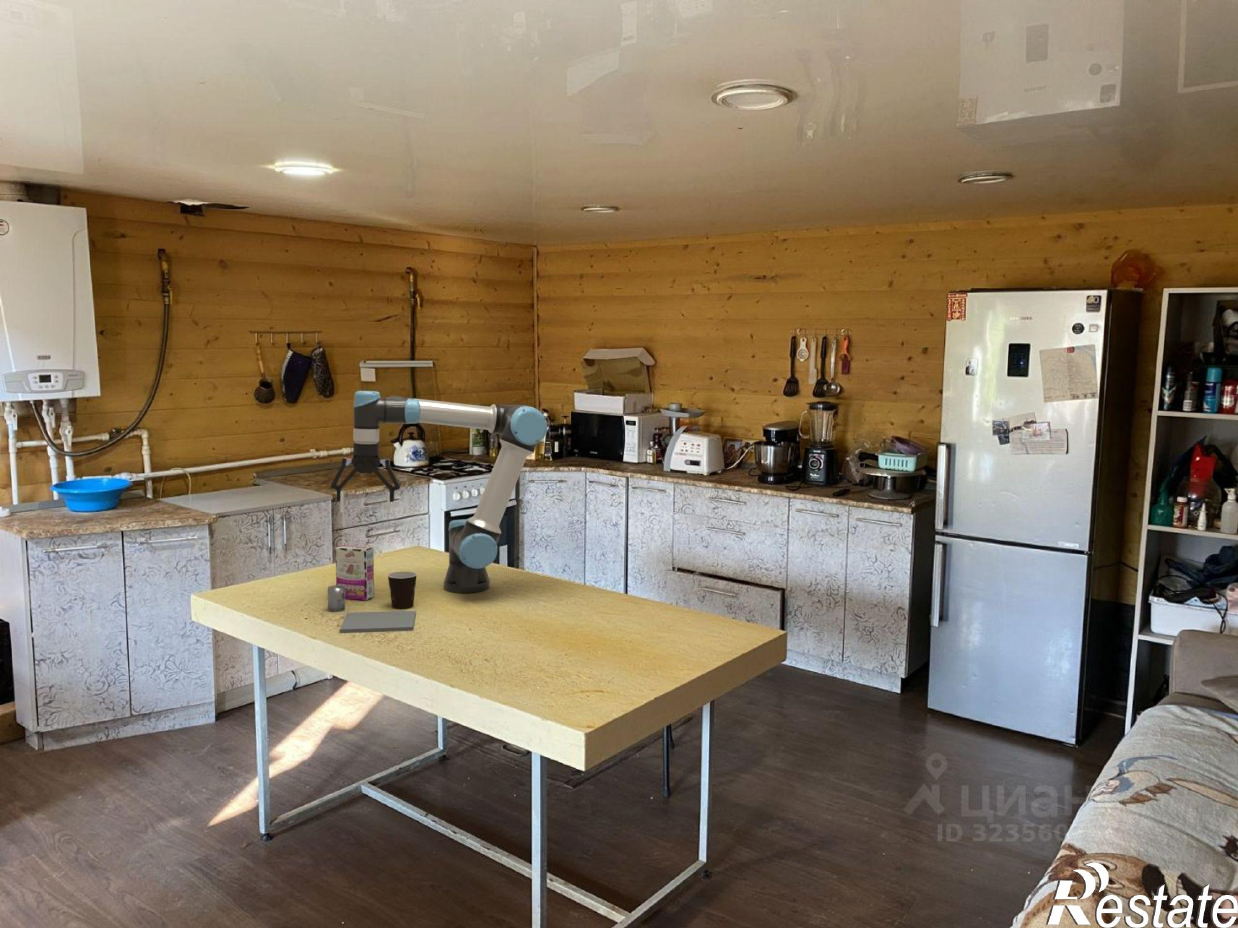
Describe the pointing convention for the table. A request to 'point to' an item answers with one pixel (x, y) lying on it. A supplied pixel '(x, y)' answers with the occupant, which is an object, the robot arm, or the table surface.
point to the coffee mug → (402, 589)
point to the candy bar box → (355, 571)
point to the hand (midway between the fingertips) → (365, 512)
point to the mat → (378, 621)
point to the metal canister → (336, 598)
